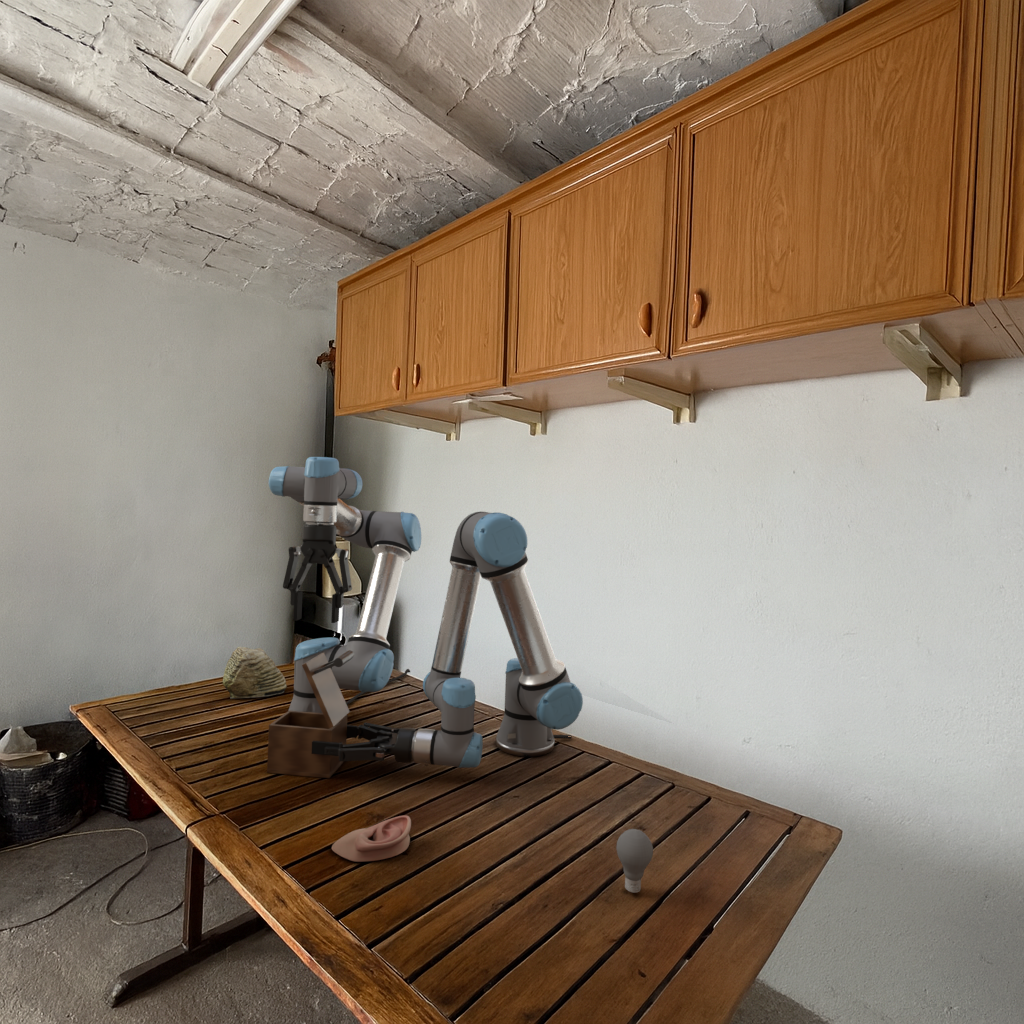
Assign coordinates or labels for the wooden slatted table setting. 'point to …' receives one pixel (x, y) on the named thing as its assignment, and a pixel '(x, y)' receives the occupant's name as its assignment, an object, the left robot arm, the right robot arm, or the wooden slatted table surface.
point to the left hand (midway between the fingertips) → (316, 620)
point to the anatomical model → (375, 841)
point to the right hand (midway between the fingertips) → (321, 738)
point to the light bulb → (634, 857)
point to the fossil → (252, 674)
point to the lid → (327, 686)
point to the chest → (303, 744)
